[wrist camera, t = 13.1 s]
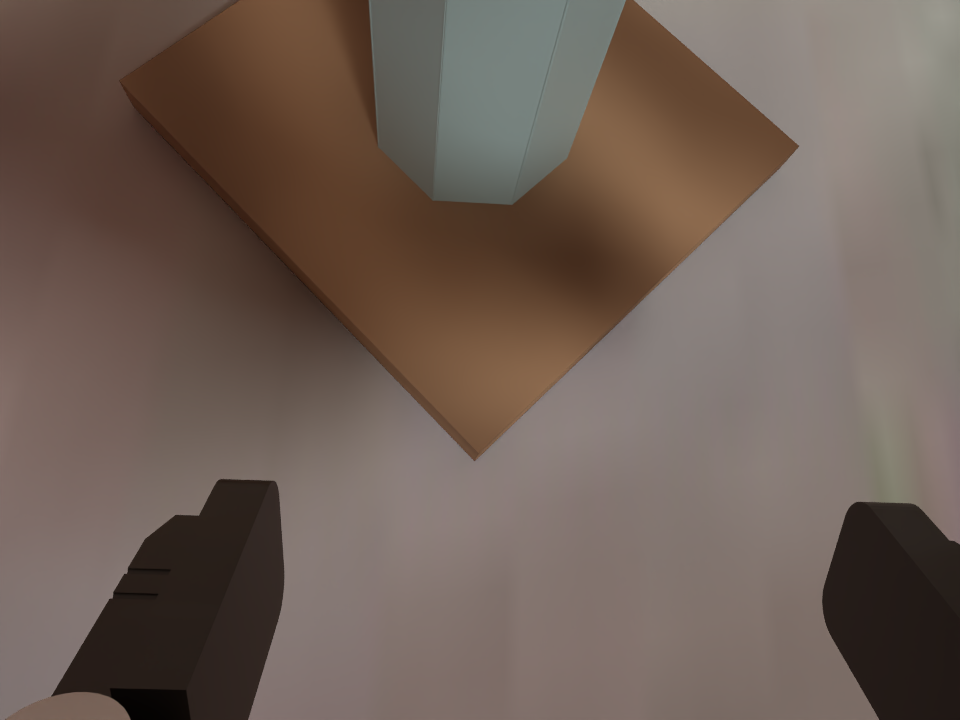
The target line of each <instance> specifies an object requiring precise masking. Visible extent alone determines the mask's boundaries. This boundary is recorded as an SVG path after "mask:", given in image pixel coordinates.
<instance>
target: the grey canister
mask: <svg viewBox="0 0 960 720" xmlns="http://www.w3.org/2000/svg"><path fill="white" fill-rule="evenodd" d="M625 2H626V0H369V14H370V30H371V46H372V61H373V77H374V93H375V108H376V124H377V140H378V147H379V148H380V149H381V150H382V151H383V152H384V153H385V154H386V155H387V156H388V157H389V158H390V159H391V160H392V161H393V162H394V163H395V164H396V165H397V166H398V167H399V168H400V169H401V170H402V171H403V172H404V173H405V174H406V175H407V176H408V177H409V178H410V179H411V180H412V181H413V182H414V183H416V184H417V185H418V186H419V187H420V188H421V189H422V190H423V191H424V192H425V193H426V194H427V195H428V196H429V197H430V198H431V199H432V200H433V201H434V200H435V201H453V202H471V203H489V204H507V205H513V204H514V203H515V202H516V201H517V200H518V199H520V198H521V197H522V196H523V195H524V194H526V193H527V192H528V191H529V190H530V189H531V188H533V187H534V186H535V185H536V184H537V183H538V182H540V181H541V180H542V179H543V178H544V177H546V176H547V175H548V174H549V173H550V172H551V171H553V170H554V169H555V168H556V167H557V166H558V165H560V164H561V163H562V162H563V161H564V160H565V159H567V157H568V154H569V152H570V149H571V146H572V144H573V141H574V138H575V136H576V133H577V130H578V128H579V125H580V122H581V120H582V117H583V114H584V112H585V109H586V106H587V103H588V101H589V98H590V95H591V93H592V90H593V87H594V85H595V82H596V79H597V77H598V74H599V71H600V69H601V66H602V63H603V61H604V58H605V55H606V53H607V50H608V47H609V45H610V42H611V39H612V36H613V34H614V31H615V28H616V26H617V23H618V20H619V18H620V15H621V12H622V10H623V7H624V4H625Z"/></svg>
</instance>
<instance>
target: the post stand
mask: <svg viewBox="0 0 960 720" xmlns="http://www.w3.org/2000/svg"><path fill="white" fill-rule="evenodd" d="M120 83H121V85H122V87H123V89H124V90H125V92H126V94H127V96H128V97H129V99H130V101H131V103H132V104H133V106H134V108H135V109H136V110H137V111H138V112H139V113H140V114H141V115H142V116H143V117H144V118H145V119H146V120H147V121H148V122H149V123H150V124H151V125H152V126H153V127H154V128H155V129H156V131H157V132H158V133H159V134H160V135H161V136H162V137H163V138H164V139H165V140H166V141H167V142H168V143H169V144H170V145H171V146H172V147H173V148H174V149H175V150H176V151H177V152H178V153H179V154H180V155H181V157H182V158H183V159H184V160H185V161H186V162H187V163H188V164H189V165H190V166H191V167H192V168H193V169H194V170H195V171H196V172H197V173H198V174H199V175H200V176H201V177H202V178H203V179H204V180H205V181H206V182H207V184H208V185H209V186H210V187H211V188H212V189H213V190H214V191H215V192H216V193H217V194H218V195H219V196H220V197H221V198H222V199H223V200H224V201H225V202H226V203H227V204H228V205H229V206H230V207H231V208H232V210H233V211H234V212H235V213H236V214H237V215H238V216H239V217H240V218H241V219H242V220H243V221H244V222H245V223H246V224H247V225H248V226H249V227H250V228H251V229H252V230H253V231H254V232H255V233H256V234H257V235H258V237H259V238H260V239H261V240H262V241H263V242H264V243H265V244H266V245H267V246H268V247H269V248H270V249H271V250H272V251H273V252H274V253H275V254H276V255H277V256H278V257H279V258H280V259H281V260H282V261H283V263H284V264H285V265H286V266H287V267H288V268H289V269H290V270H291V271H292V272H293V273H294V274H295V275H296V276H297V277H298V278H299V279H300V280H301V281H302V282H303V283H304V284H305V285H306V286H307V287H308V288H309V290H310V291H311V292H312V293H313V294H314V295H315V296H316V297H317V298H318V299H319V300H320V301H321V302H322V303H323V304H324V305H325V306H326V307H327V308H328V309H329V310H330V311H331V312H332V313H333V314H334V316H335V317H336V318H337V319H338V320H339V321H340V322H341V323H342V324H343V325H344V326H345V327H346V328H347V329H348V330H349V331H350V332H351V333H352V334H353V335H354V336H355V337H356V338H357V339H358V340H359V341H360V343H361V344H362V345H363V346H364V347H365V348H366V349H367V350H368V351H369V352H370V353H371V354H372V355H373V356H374V357H375V358H376V359H377V360H378V361H379V362H380V363H381V364H382V365H383V366H384V367H385V369H386V370H387V371H388V372H389V373H390V374H391V375H392V376H393V377H394V378H395V379H396V380H397V381H398V382H399V383H400V384H401V385H402V386H403V387H404V388H405V389H406V390H407V391H408V392H409V393H410V394H411V396H412V397H413V398H414V399H415V400H416V401H417V402H418V403H419V404H420V405H421V406H422V407H423V408H424V409H425V410H426V411H427V412H428V413H429V414H430V415H431V416H432V417H433V418H434V419H435V420H436V422H437V423H438V424H439V425H440V426H441V427H442V428H443V429H444V430H445V431H446V432H447V433H448V434H449V435H450V436H451V437H452V438H453V439H454V440H455V441H456V442H457V443H458V444H459V445H460V446H461V448H462V449H463V450H464V451H465V452H466V453H467V454H468V455H469V456H470V457H471V458H472V459H473V460H474V461H475V460H476V459H477V458H478V457H479V456H481V455H482V454H483V453H484V452H485V451H486V450H487V449H488V448H489V447H490V446H491V445H492V444H493V443H494V442H495V441H496V440H497V439H498V438H499V437H500V436H501V435H502V434H503V433H504V432H506V431H507V430H508V429H509V428H510V427H511V426H512V425H513V424H514V423H515V422H516V421H517V420H518V419H519V418H520V417H521V416H522V415H523V414H524V413H525V412H526V411H527V410H528V409H529V408H531V407H532V406H533V405H534V404H535V403H536V402H537V401H538V400H539V399H540V398H541V397H542V396H543V395H544V394H545V393H546V392H547V391H548V390H549V389H550V388H551V387H552V386H553V385H554V384H555V383H557V382H558V381H559V380H560V379H561V378H562V377H563V376H564V375H565V374H566V373H567V372H568V371H569V370H570V369H571V368H572V367H573V366H574V365H575V364H576V363H577V362H578V361H579V360H580V359H582V358H583V357H584V356H585V355H586V354H587V353H588V352H589V351H590V350H591V349H592V348H593V347H594V346H595V345H596V344H597V343H598V342H599V341H600V340H601V339H602V338H603V337H604V336H605V335H607V334H608V333H609V332H610V331H611V330H612V329H613V328H614V327H615V326H616V325H617V324H618V323H619V322H620V321H621V320H622V319H623V318H624V317H625V316H626V315H627V314H628V313H629V312H630V311H631V310H633V309H634V308H635V307H636V306H637V305H638V304H639V303H640V302H641V301H642V300H643V299H644V298H645V297H646V296H647V295H648V294H649V293H650V292H651V291H652V290H653V289H654V288H655V287H656V286H658V285H659V284H660V283H661V282H662V281H663V280H664V279H665V278H666V277H667V276H668V275H669V274H670V273H671V272H672V271H673V270H674V269H675V268H676V267H677V266H678V265H679V264H680V263H681V262H683V261H684V260H685V259H686V258H687V257H688V256H689V255H690V254H691V253H692V252H693V251H694V250H695V249H696V248H697V247H698V246H699V245H700V244H701V243H702V242H703V241H704V240H705V239H706V238H707V237H709V236H710V235H711V234H712V233H713V232H714V231H715V230H716V229H717V228H718V227H719V226H720V225H721V224H722V223H723V222H724V221H725V220H726V219H727V218H728V217H729V216H730V215H731V214H732V213H734V212H735V211H736V210H737V209H738V208H739V207H740V206H741V205H742V204H743V203H744V202H745V201H746V200H747V199H748V198H749V197H750V196H751V195H752V194H753V193H754V192H755V191H756V190H757V189H759V188H760V187H761V186H762V185H763V184H764V183H765V182H766V181H767V180H768V179H769V178H770V177H771V176H772V175H773V174H774V173H775V172H776V171H777V170H778V169H779V168H780V167H781V166H782V165H783V164H784V163H785V162H786V161H787V159H788V158H789V157H790V156H791V155H792V154H793V153H794V152H795V150H796V149H797V148H798V147H799V146H798V145H797V144H796V143H795V142H794V141H793V140H792V139H790V138H789V137H788V136H787V135H786V134H785V133H784V132H783V131H781V130H780V129H779V128H778V127H777V126H776V125H775V124H773V123H772V122H771V121H770V120H769V119H768V118H767V117H765V116H764V115H763V114H762V113H761V112H760V111H759V110H758V109H756V108H755V107H754V106H753V105H752V104H751V103H750V102H748V101H747V100H746V99H745V98H744V97H743V96H742V95H740V94H739V93H738V92H737V91H736V90H735V89H734V88H733V87H731V86H730V85H729V84H728V83H727V82H726V81H725V80H723V79H722V78H721V77H720V76H719V75H718V74H717V73H715V72H714V71H713V70H712V69H711V68H710V67H709V66H707V65H706V64H705V63H704V62H703V61H702V60H701V59H700V58H698V57H697V56H696V55H695V54H694V53H693V52H692V51H690V50H689V49H688V48H687V47H686V46H685V45H684V44H682V43H681V42H680V41H679V40H678V39H677V38H676V37H675V36H673V35H672V34H671V33H670V32H669V31H668V30H667V29H665V28H664V27H663V26H662V25H661V24H660V23H659V22H657V21H656V20H655V19H654V18H653V17H652V16H651V15H650V14H648V13H647V12H646V11H645V10H644V9H643V8H642V7H640V6H639V5H638V4H637V3H636V2H635V1H634V0H626V2H625V4H624V7H623V10H622V12H621V15H620V18H619V20H618V23H617V26H616V28H615V31H614V34H613V36H612V39H611V42H610V45H609V47H608V50H607V53H606V55H605V58H604V61H603V63H602V66H601V69H600V71H599V74H598V77H597V79H596V82H595V85H594V87H593V90H592V93H591V95H590V98H589V101H588V103H587V106H586V109H585V112H584V114H583V117H582V120H581V122H580V125H579V128H578V130H577V133H576V136H575V138H574V141H573V144H572V146H571V149H570V152H569V154H568V157H567V159H565V160H564V161H563V162H562V163H561V164H560V165H558V166H557V167H556V168H555V169H554V170H553V171H551V172H550V173H549V174H548V175H547V176H546V177H544V178H543V179H542V180H541V181H540V182H538V183H537V184H536V185H535V186H534V187H533V188H531V189H530V190H529V191H528V192H527V193H526V194H524V195H523V196H522V197H521V198H520V199H518V200H517V201H516V202H515V203H514V204H513V205H507V204H489V203H471V202H453V201H435V200H434V201H433V200H432V199H431V198H430V197H429V196H428V195H427V194H426V193H425V192H424V191H423V190H422V189H421V188H420V187H419V186H418V185H417V184H416V183H414V182H413V181H412V180H411V179H410V178H409V177H408V176H407V175H406V174H405V173H404V172H403V171H402V170H401V169H400V168H399V167H398V166H397V165H396V164H395V163H394V162H393V161H392V160H391V159H390V158H389V157H388V156H387V155H386V154H385V153H384V152H383V151H382V150H381V149H380V148H379V147H378V140H377V124H376V108H375V93H374V77H373V61H372V46H371V30H370V14H369V0H239V1H238V2H236V3H235V4H233V5H232V6H230V7H229V8H227V9H226V10H224V11H223V12H221V13H220V14H218V15H217V16H215V17H214V18H212V19H211V20H209V21H208V22H206V23H205V24H203V25H202V26H200V27H199V28H197V29H196V30H194V31H193V32H191V33H190V34H188V35H187V36H185V37H184V38H182V39H181V40H179V41H178V42H176V43H175V44H173V45H172V46H170V47H169V48H167V49H166V50H164V51H163V52H161V53H160V54H158V55H157V56H155V57H154V58H152V59H151V60H149V61H148V62H146V63H145V64H143V65H142V66H141V67H139V68H138V69H136V70H135V71H133V72H132V73H130V74H129V75H127V76H126V77H124V78H123V79H121V80H120Z"/></svg>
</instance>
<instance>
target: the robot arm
mask: <svg viewBox="0 0 960 720" xmlns="http://www.w3.org/2000/svg"><path fill="white" fill-rule="evenodd" d="M283 590H284V560H283V545H282V531H281V516H280V502H279V491H278V486H277V484H276V482H275V481H261V480H231V479H220V480H218V481H217V483H216V484H215V486H214V488H213V490H212V492H211V494H210V495H209V497H208V499H207V501H206V503H205V505H204V507H203V509H202V511H201V513H200V515H199V516H191V515H175V516H174V517H173V518H171V519H170V520H169V521H167V522H166V523H165V524H164V525H162V526H161V527H160V528H159V529H157V530H156V531H155V532H154V533H152V534H151V535H150V536H149V537H147V538H146V539H145V540H144V542H143V544H142V545H141V547H140V549H139V550H138V552H137V554H136V555H135V557H134V559H133V560H132V562H131V564H130V565H129V567H128V573H127V574H124V575H123V577H122V579H121V580H120V582H119V584H118V586H117V587H116V589H115V591H114V592H113V598H112V599H109V601H108V602H107V604H106V606H105V607H104V609H103V611H102V612H101V614H100V616H99V617H98V619H97V621H96V622H95V624H94V626H93V627H92V629H91V631H90V632H89V634H88V636H87V638H86V639H85V641H84V643H83V644H82V646H81V648H80V649H79V651H78V653H77V654H76V656H75V658H74V659H73V661H72V663H71V664H70V666H69V668H68V669H67V671H66V673H65V674H64V676H63V678H62V679H61V681H60V683H59V684H58V686H57V688H56V690H55V691H54V693H53V694H52V696H51V697H48V698H46V699H43V700H40V701H38V702H35V703H33V704H31V705H29V706H27V707H25V708H23V709H21V710H19V711H18V712H16V713H14V714H13V715H11V716H9V717H8V718H7V719H5V720H248V718H249V715H250V712H251V708H252V705H253V702H254V698H255V695H256V692H257V688H258V685H259V682H260V678H261V675H262V672H263V669H264V665H265V662H266V659H267V655H268V652H269V649H270V645H271V642H272V639H273V635H274V632H275V629H276V626H277V622H278V619H279V615H280V611H281V606H282V599H283ZM822 604H823V614H824V619H825V622H826V626H827V628H828V631H829V633H830V635H831V637H832V639H833V640H834V642H835V644H836V645H837V647H838V649H839V651H840V652H841V654H842V656H843V658H844V659H845V661H846V663H847V664H848V666H849V668H850V670H851V671H852V673H853V675H854V677H855V678H856V680H857V682H858V683H859V685H860V687H861V689H862V690H863V692H864V694H865V696H866V697H867V699H868V701H869V702H870V704H871V706H872V708H873V709H874V711H875V713H876V715H877V716H878V718H879V720H960V545H959V544H958V543H956V542H955V541H949V540H948V539H947V537H946V536H945V535H944V534H943V533H942V532H941V531H940V530H939V529H938V527H937V526H936V525H935V524H934V523H933V522H932V521H931V520H930V519H929V517H928V516H927V515H926V514H925V513H924V512H923V511H922V510H921V509H920V508H919V507H918V506H916V505H914V504H909V503H879V502H856V503H854V504H853V505H851V507H850V508H849V509H848V511H847V513H846V516H845V519H844V522H843V525H842V529H841V532H840V535H839V539H838V542H837V545H836V548H835V552H834V555H833V558H832V562H831V565H830V568H829V571H828V575H827V578H826V581H825V585H824V589H823V598H822Z"/></svg>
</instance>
